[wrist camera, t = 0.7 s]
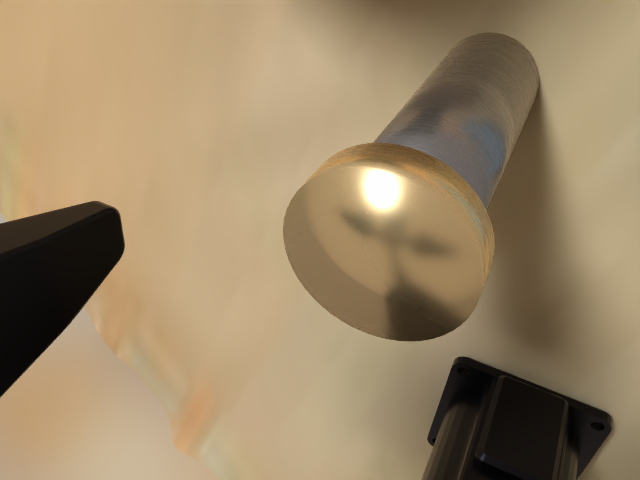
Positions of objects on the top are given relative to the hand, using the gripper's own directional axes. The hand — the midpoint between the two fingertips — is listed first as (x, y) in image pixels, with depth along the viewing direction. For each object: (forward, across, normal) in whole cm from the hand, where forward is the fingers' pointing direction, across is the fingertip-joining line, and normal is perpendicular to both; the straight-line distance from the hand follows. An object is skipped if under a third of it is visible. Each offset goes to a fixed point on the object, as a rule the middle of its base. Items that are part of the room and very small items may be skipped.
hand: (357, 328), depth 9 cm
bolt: (+12, +1, 0) cm, 12 cm away
